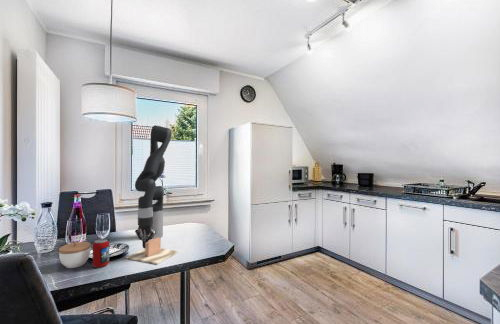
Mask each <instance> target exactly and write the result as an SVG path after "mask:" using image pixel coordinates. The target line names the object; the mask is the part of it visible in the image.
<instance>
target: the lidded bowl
mask: <svg viewBox="0 0 500 324" xmlns="http://www.w3.org/2000/svg"><path fill="white" fill-rule="evenodd" d="M91 247H92V243H91V242H89V241H88V242H87V241H74V242H72V243H68V244H65V245H62V246H61V247H59V248H58V257H59V261H60V263H61V264H62V266H64V267H66V269H75V268H78V267H81V266H83V265H85V263H86V262H87V260H88V259H89V258H90V255H91Z"/></svg>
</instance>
